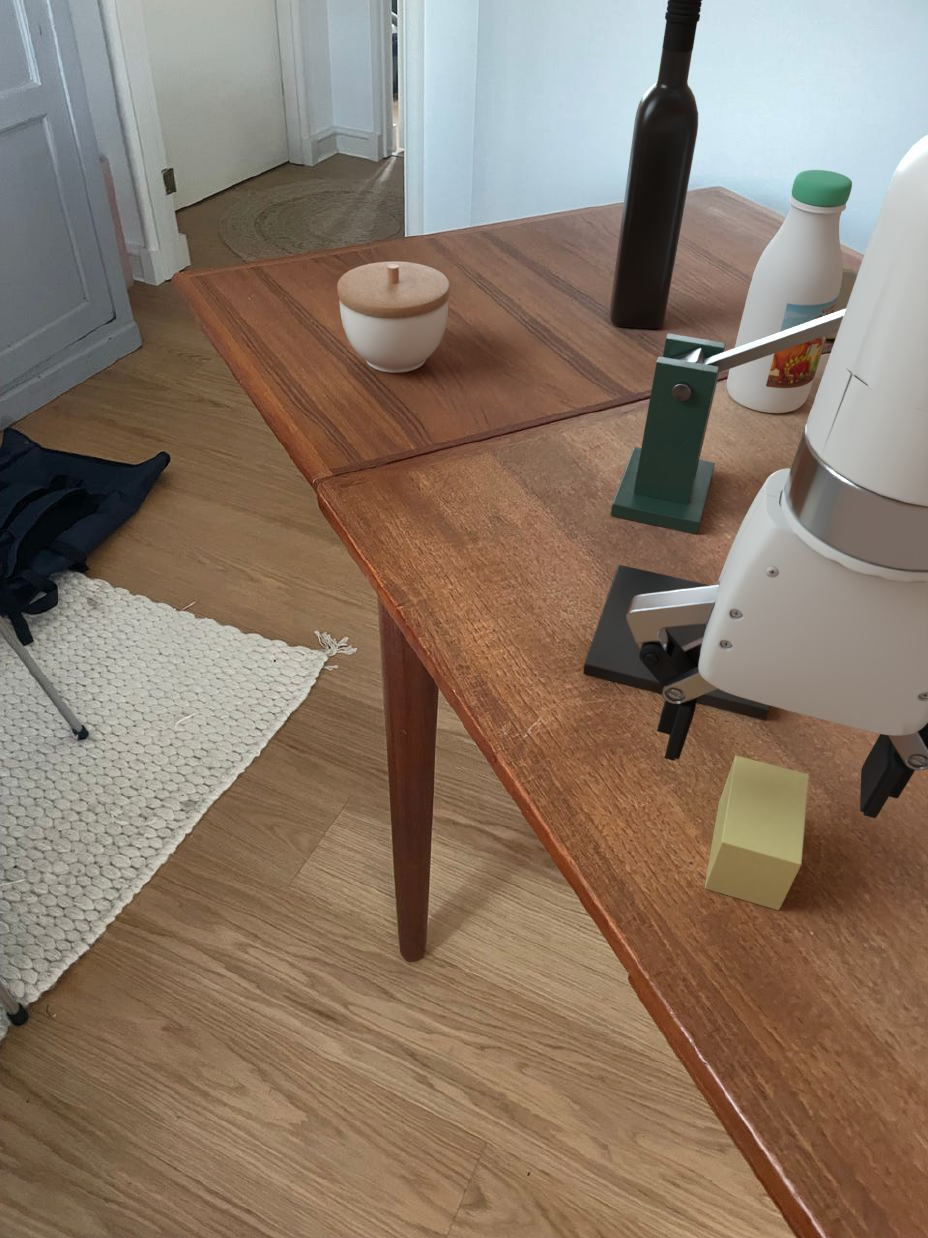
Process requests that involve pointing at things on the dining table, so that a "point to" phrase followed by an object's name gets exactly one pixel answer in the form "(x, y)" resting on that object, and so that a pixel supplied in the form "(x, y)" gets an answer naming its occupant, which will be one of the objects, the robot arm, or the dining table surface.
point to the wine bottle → (657, 179)
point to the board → (620, 654)
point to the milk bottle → (793, 294)
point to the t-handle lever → (769, 343)
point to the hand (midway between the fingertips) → (769, 766)
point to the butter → (758, 833)
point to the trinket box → (394, 313)
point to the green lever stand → (672, 442)
